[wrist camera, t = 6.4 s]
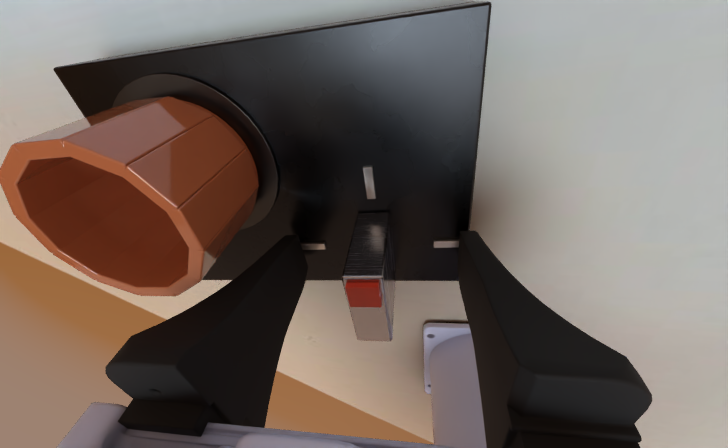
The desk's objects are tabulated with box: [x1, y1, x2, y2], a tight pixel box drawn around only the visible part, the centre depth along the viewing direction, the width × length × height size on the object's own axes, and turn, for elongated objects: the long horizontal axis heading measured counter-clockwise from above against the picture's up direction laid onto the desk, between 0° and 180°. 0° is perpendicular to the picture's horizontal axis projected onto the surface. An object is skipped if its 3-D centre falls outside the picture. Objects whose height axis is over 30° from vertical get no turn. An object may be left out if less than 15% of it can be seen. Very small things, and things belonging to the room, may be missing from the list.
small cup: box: [0, 96, 259, 296], centre depth 10 cm, size 6×6×4 cm
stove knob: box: [342, 212, 396, 341], centre depth 12 cm, size 4×1×4 cm, turn 8°
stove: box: [54, 2, 491, 281], centre depth 14 cm, size 12×15×3 cm
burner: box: [112, 73, 279, 230], centre depth 12 cm, size 7×7×1 cm
